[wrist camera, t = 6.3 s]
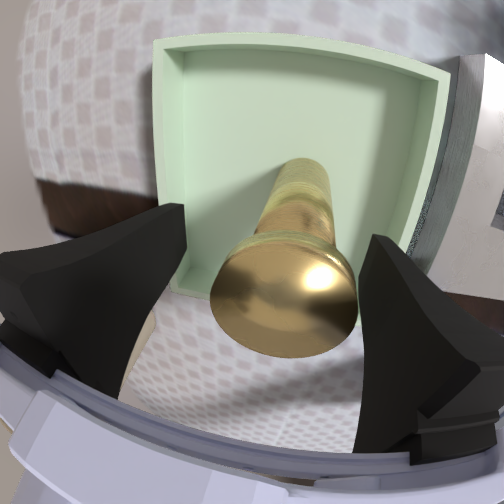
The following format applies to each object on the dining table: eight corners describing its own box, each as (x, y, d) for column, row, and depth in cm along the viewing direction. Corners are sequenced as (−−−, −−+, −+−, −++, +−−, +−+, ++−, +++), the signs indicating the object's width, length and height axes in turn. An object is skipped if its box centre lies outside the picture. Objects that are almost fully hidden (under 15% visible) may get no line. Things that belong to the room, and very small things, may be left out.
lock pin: (330, 220, 16) (333, 366, 8) (265, 208, 17) (211, 342, 9) (344, 156, 14) (380, 269, 6) (271, 143, 14) (207, 237, 6)
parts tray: (367, 297, 20) (371, 327, 17) (187, 266, 22) (171, 291, 19) (428, 73, 10) (450, 73, 8) (179, 44, 12) (153, 39, 10)
